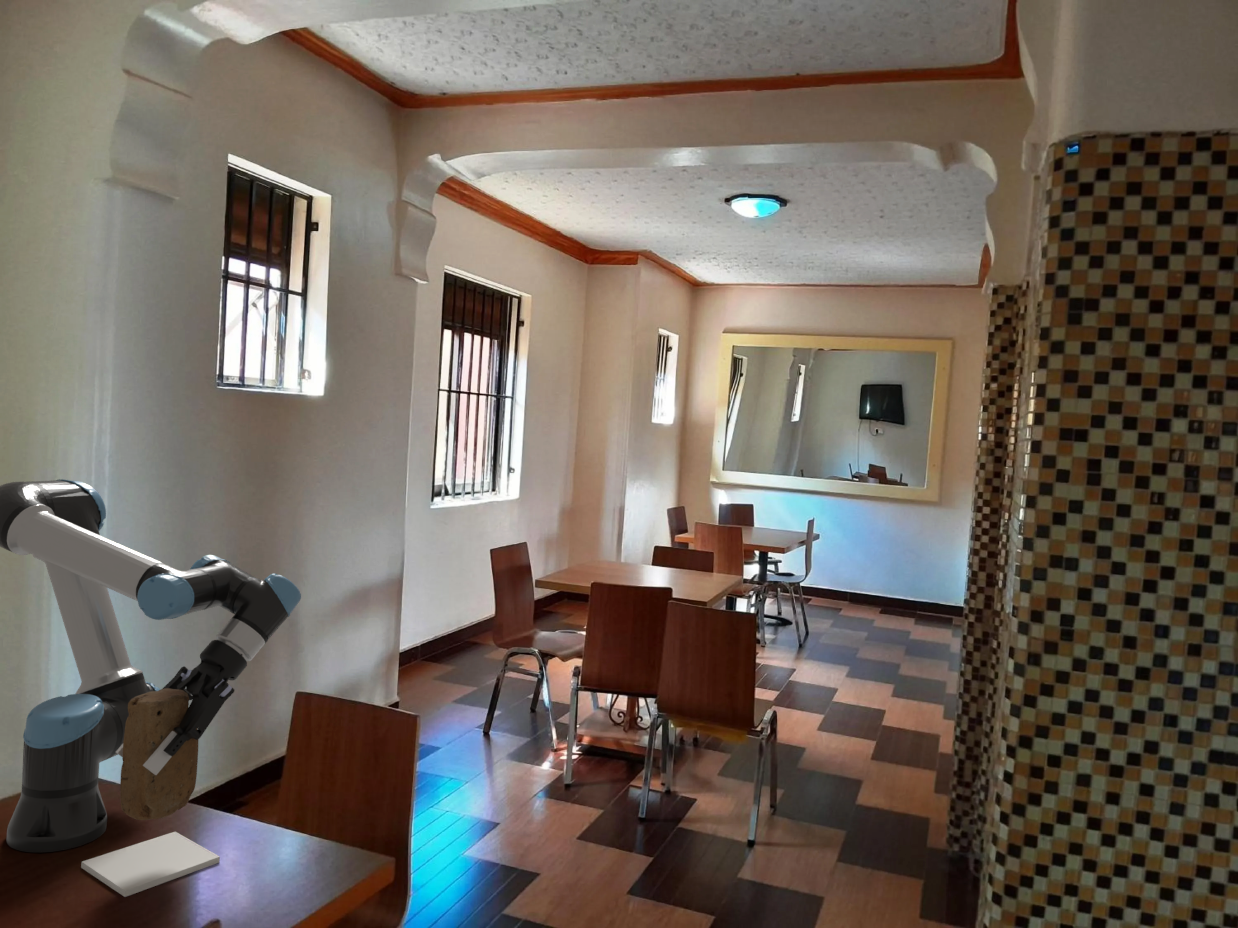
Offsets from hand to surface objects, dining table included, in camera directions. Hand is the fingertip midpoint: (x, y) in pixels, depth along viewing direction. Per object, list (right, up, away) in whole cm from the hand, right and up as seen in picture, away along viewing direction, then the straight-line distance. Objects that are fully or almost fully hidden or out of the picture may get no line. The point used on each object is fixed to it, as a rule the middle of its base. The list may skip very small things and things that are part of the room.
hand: (135, 763), depth 149 cm
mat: (0, -18, +4) cm, 19 cm away
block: (+2, -9, +4) cm, 10 cm away
